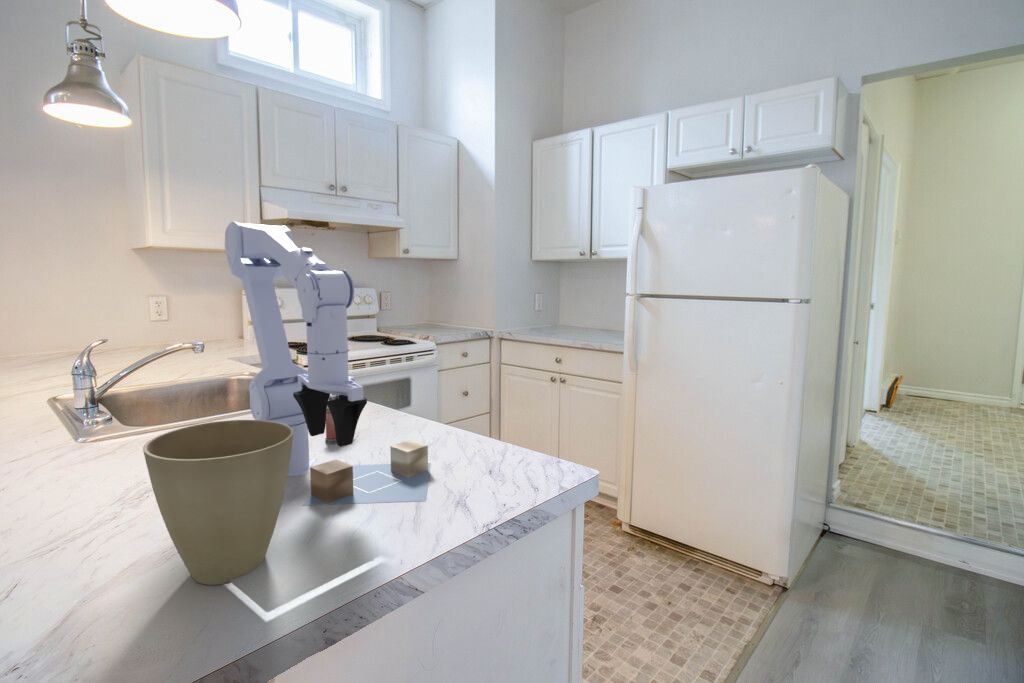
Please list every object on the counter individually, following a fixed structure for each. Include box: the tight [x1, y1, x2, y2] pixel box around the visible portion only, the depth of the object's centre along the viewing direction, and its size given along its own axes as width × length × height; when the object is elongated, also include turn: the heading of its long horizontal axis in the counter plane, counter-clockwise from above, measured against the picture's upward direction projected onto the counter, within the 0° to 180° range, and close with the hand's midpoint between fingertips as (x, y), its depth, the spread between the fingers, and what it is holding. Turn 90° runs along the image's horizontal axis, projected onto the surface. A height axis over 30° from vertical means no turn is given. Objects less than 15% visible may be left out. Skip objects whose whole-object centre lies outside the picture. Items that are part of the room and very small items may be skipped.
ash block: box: [389, 439, 429, 478], centre depth 90 cm, size 4×4×4 cm
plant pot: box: [142, 419, 294, 586], centre depth 60 cm, size 15×15×16 cm
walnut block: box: [309, 458, 353, 503], centre depth 80 cm, size 4×4×4 cm
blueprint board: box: [302, 462, 432, 507], centre depth 85 cm, size 18×16×1 cm
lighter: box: [324, 394, 339, 445], centre depth 109 cm, size 8×3×10 cm, turn 168°
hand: (330, 439), depth 79 cm, fingers open, 7 cm apart
